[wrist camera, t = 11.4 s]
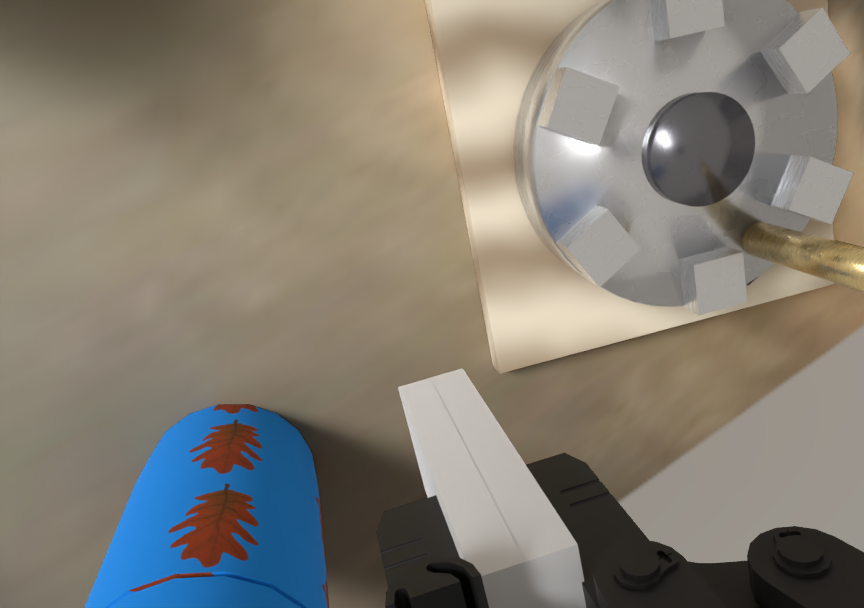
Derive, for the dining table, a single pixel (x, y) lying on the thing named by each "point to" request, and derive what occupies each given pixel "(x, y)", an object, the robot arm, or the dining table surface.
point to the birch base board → (500, 202)
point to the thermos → (220, 520)
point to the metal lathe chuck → (686, 148)
